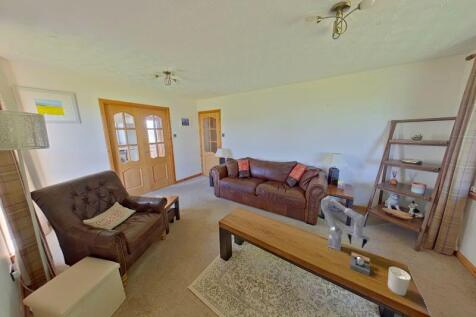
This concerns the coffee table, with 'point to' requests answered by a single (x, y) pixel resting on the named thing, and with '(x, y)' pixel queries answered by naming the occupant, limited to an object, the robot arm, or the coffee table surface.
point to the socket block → (363, 270)
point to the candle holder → (398, 280)
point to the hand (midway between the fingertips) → (356, 245)
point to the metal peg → (360, 261)
